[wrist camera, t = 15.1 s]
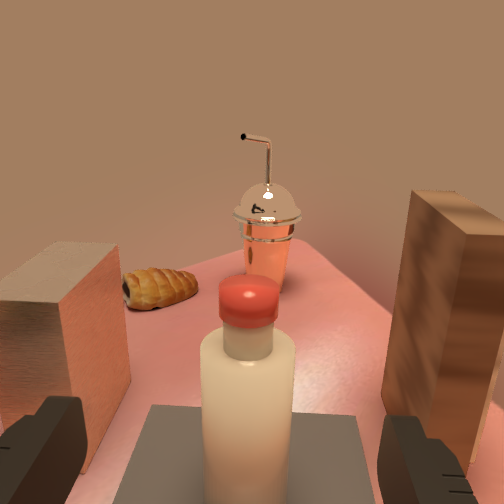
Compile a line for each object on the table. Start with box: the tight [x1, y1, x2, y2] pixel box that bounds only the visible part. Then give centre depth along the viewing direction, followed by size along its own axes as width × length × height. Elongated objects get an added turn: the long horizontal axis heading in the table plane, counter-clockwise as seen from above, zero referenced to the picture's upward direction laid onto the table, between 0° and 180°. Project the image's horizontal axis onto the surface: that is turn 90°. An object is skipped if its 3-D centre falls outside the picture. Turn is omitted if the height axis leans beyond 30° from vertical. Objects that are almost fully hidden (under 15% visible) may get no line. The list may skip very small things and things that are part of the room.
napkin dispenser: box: [0, 241, 131, 474], centre depth 32 cm, size 10×5×13 cm, turn 177°
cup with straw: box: [233, 134, 302, 293], centre depth 54 cm, size 8×9×20 cm
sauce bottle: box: [200, 274, 296, 504], centre depth 24 cm, size 5×5×14 cm
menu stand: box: [381, 190, 504, 478], centre depth 30 cm, size 10×4×18 cm, turn 177°
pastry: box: [121, 268, 198, 310], centre depth 54 cm, size 9×7×4 cm
